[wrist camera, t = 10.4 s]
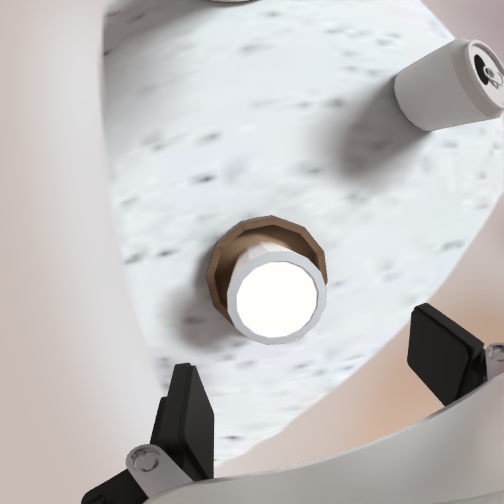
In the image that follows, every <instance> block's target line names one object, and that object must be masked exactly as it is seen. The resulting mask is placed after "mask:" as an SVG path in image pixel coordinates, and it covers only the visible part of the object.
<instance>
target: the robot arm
mask: <svg viewBox="0 0 504 504" xmlns="http://www.w3.org/2000/svg"><path fill="white" fill-rule="evenodd" d="M212 1H220V2H239V1H248V0H212ZM483 346H484V343H483V342H482V341H480V340H479V339H477V338H476V337H475V336H473V335H472V334H471V333H469V332H468V331H467V330H465V329H464V328H462V327H461V326H460V325H458V324H457V323H455V322H454V321H453V320H451V319H450V318H448V317H447V316H445V315H444V314H443V313H441V312H440V311H438V310H437V309H435V308H434V307H432V306H431V305H429V304H428V303H424V304H421V305H418V306H416V307H415V308H414V311H412V313H411V326H410V338H409V348H408V356H407V362H408V365H409V366H410V367H411V369H412V370H413V371H414V372H415V373H416V374H417V375H418V376H419V378H420V379H421V380H422V381H423V382H424V383H425V384H426V385H427V387H428V388H429V389H430V390H431V391H432V392H433V393H434V395H435V396H436V397H437V398H438V399H439V400H440V401H441V402H442V404H443V405H444V406H445V407H444V408H442V409H440V410H439V411H437V412H435V413H433V414H431V415H429V416H427V417H425V418H423V419H421V420H419V421H417V422H415V423H413V424H411V425H409V426H406V427H404V428H402V429H400V430H398V431H395V432H393V433H391V434H388V435H386V436H384V437H381V438H378V439H376V440H373V441H371V442H368V443H365V444H363V445H360V446H357V447H354V448H351V449H348V450H345V451H342V452H339V453H336V454H332V455H329V456H326V457H323V458H319V459H315V460H311V461H308V462H303V463H300V464H295V465H290V466H286V467H281V468H276V469H271V470H266V471H261V472H254V473H249V474H242V475H235V476H228V477H221V478H214V475H213V474H214V471H213V470H214V413H213V410H212V407H211V405H210V402H209V400H208V397H207V395H206V392H205V390H204V387H203V385H202V382H201V379H200V377H199V374H198V371H197V369H196V366H195V365H194V366H191V364H190V363H182V364H176V365H175V367H174V371H173V375H172V379H171V383H170V387H169V392H168V396H167V397H162V398H161V400H160V403H159V407H158V411H157V415H156V419H155V423H154V427H153V431H152V436H151V440H150V444H146V445H140V446H138V447H136V448H134V449H133V450H131V451H130V453H129V454H128V455H127V458H126V466H127V469H126V470H124V471H122V472H121V473H119V474H118V475H116V476H114V477H112V478H111V479H109V480H108V481H106V482H104V483H102V484H101V485H99V486H97V487H95V488H93V489H92V490H90V491H89V492H87V493H86V494H85V495H84V497H83V498H82V501H81V504H504V343H493V344H491V345H489V346H488V347H487V348H486V350H485V349H483Z"/></svg>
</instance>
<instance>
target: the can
mask: <svg viewBox="0 0 504 504" xmlns="http://www.w3.org/2000/svg"><path fill="white" fill-rule="evenodd" d="M394 90H395V95H396V99H397V102H398V104H399V106H400V109H401V110H402V112H403V113H404V114H405V116H406V117H407V119H409V120H410V121H411V122H412V123H413V124H414V125H415V126H417V127H419V128H420V129H422V130H426V131H434V130H439V129H443V128H448V127H453V126H458V125H463V124H468V123H473V122H479V121H484V120H490V119H495V118H499V117H500V116H501V114H502V113H503V111H504V67H503V65H502V63H501V62H500V60H499V58H498V57H497V56H496V54H495V53H494V52H493V51H492V50H491V49H490V48H489V47H488V46H487V45H486V44H484V43H482V42H480V41H479V40H473V39H472V40H471V41H469V40H467V39H464V38H457V39H455V40H454V41H452V42H450V43H448V44H446V45H444V46H442V47H441V48H439V49H437V50H435V51H433V52H432V53H430V54H428V55H426V56H425V57H423V58H421V59H419V60H418V61H416V62H414V63H413V64H411V65H409V66H408V67H406V68H404V69H403V70H401V71H400V72H399V73H398V74H397V76H396V78H395V85H394Z"/></svg>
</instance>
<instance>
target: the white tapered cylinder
mask: <svg viewBox="0 0 504 504" xmlns="http://www.w3.org/2000/svg"><path fill="white" fill-rule="evenodd" d="M326 292H327V288H326V285H325V283H324V280H323V277H322V274H321V272H320V271H319V270H318V269H317V267H316V266H315V265H314V264H313V263H312V262H311V261H310V260H309V259H308V258H306V257H304V256H302V255H300V254H297V253H295V252H293V251H291V250H289V249H287V248H285V247H283V246H280V245H278V244H275V243H273V242H258V243H256V244H254V245H251V246H249V247H247V248H246V249H245V250H244V251H243V252H242V253H241V254H240V255H239V256H238V259H237V261H236V264H235V266H234V269H233V273H232V277H231V281H230V284H229V288H228V292H227V303H228V313H229V315H230V317H231V319H232V321H233V323H234V325H235V327H236V329H238V330H239V331H240V332H241V333H242V334H244V335H245V336H246V337H247V338H249V339H250V340H253V341H256V342H259V343H263V344H266V345H274V344H286V343H289V342H291V341H293V340H296V339H298V338H300V337H303V336H304V335H305V334H306V333H307V332H308V331H310V330H311V329H312V328H313V327H314V326H315V325H316V324H317V322H318V321H319V319H320V317H321V315H322V313H323V311H324V309H325V304H326Z"/></svg>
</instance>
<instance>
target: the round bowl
mask: <svg viewBox="0 0 504 504" xmlns="http://www.w3.org/2000/svg"><path fill="white" fill-rule="evenodd" d="M258 242H273V243H275V244H278V245H280V246H283V247H285V248H287V249H289V250H291V251H293V252H295V253H297V254H300V255H302V256H304V257H306V258H308V259H309V260H310V261H311V262H312V263H313V264H314V265H315V266H316V267H317V269H318V270H319V271H320V272H321V274H322V277H323V280H324V283H325V285H326V284H327V282H328V280H327V271H326V263H325V255H324V251H323V250H322V248H321V247H320V246H319V245H318V243H317V242H316V241H315V240H314V238H313V237H312V236H311V235H310V233H309V232H308V231H307V230H306V228H305V227H303V226H301V225H298V224H295V223H292V222H289V221H287V220H284V219H281V218H278V217H275V216H272V215H270V216H265V217H256V218H252V219H248V220H245V221H241V222H239V223H238V224H237V225H236V226H234V227H233V228H232V229H230V230H229V231H228V232H227V233H226V234H225V235H224V236H223V237H222V238H221V239H220V240H219V241H218V242H217V243H216V246H215V249H214V252H213V255H212V258H211V261H210V265H209V268H208V271H207V275H206V278H207V282H208V286H209V290H210V294H211V298H212V302H213V306H214V307H215V308H216V309H217V310H218V311H219V312H220V313H221V314H222V315H223V316H224V317H225V318H226V319H227V320H228V321H229V322H230V323H231V324H232V325H233V326H235V325H234V323H233V321H232V319H231V317H230V315H229V313H228V303H227V292H228V288H229V284H230V281H231V277H232V273H233V269H234V266H235V264H236V261H237V259H238V256H239V255H240V254H241V253H242V252H243V251H244V250H245V249H246V248H247V247H249V246H251V245H254V244H256V243H258Z"/></svg>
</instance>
